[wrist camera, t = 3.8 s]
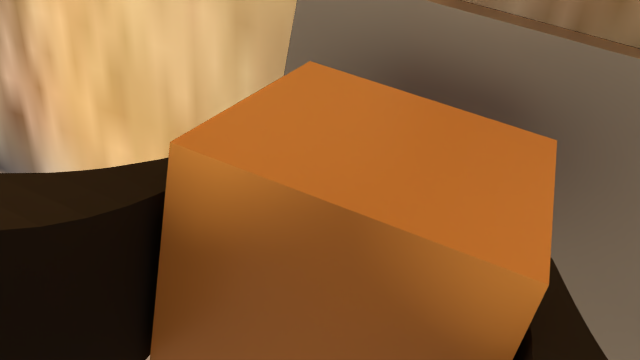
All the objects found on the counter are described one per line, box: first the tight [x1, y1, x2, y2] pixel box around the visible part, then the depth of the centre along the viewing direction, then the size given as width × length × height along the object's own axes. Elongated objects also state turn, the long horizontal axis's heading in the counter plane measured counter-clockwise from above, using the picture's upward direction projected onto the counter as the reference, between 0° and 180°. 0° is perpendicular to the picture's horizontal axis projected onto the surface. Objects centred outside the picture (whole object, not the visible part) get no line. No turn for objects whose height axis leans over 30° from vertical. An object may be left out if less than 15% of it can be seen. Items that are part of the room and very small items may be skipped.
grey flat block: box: [284, 0, 640, 360], centre depth 17 cm, size 14×10×5 cm
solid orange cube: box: [150, 61, 557, 360], centre depth 11 cm, size 5×5×5 cm
